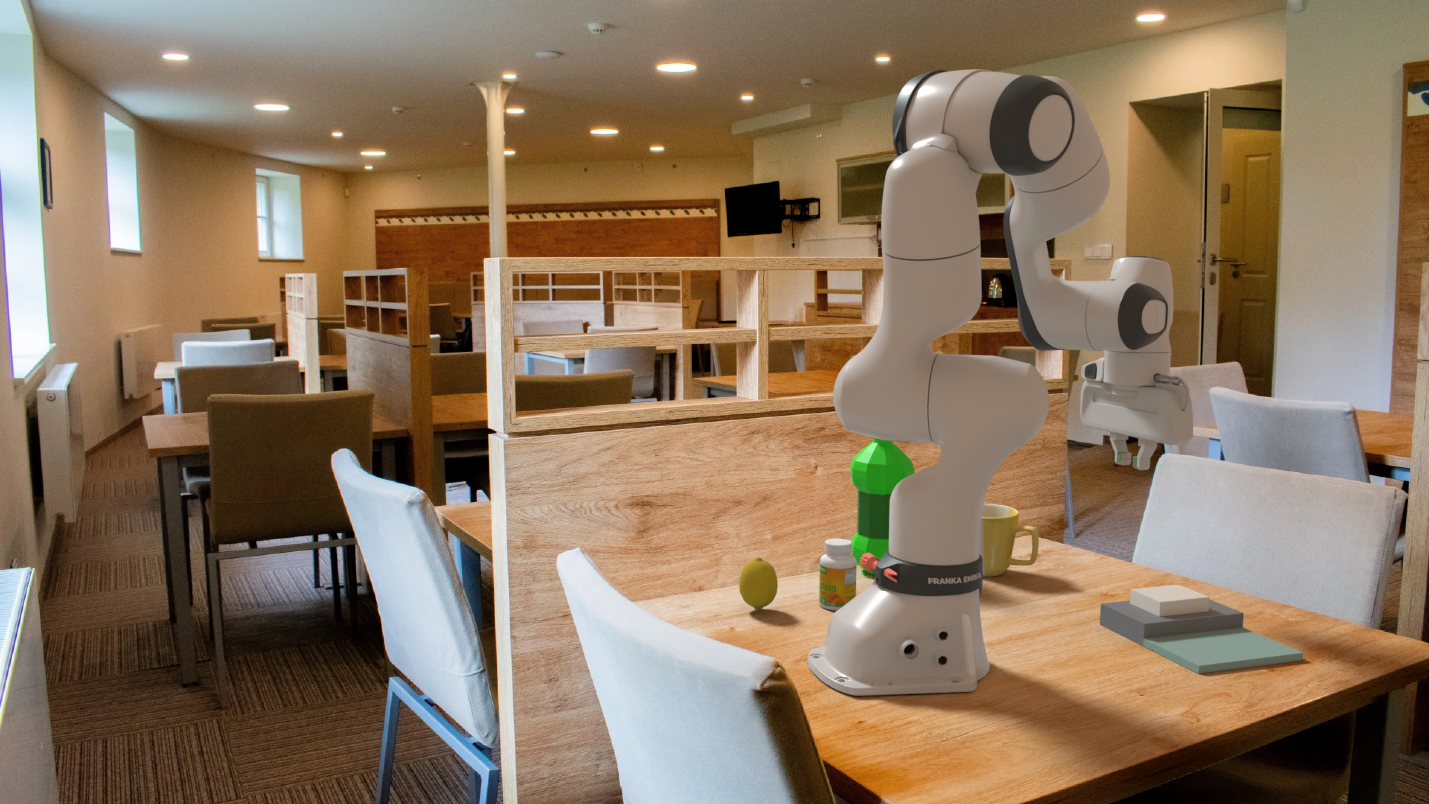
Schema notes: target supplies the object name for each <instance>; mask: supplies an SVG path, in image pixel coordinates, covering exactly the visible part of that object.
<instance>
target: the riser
mask: <svg viewBox="0 0 1429 804" xmlns="http://www.w3.org/2000/svg"><path fill="white" fill-rule="evenodd" d="M1099 610H1100V613H1099V625H1101V626H1102V627H1104V628H1107V629H1108V630H1111V631H1112V632H1114V633H1116V634H1118V635H1120V636H1122V637H1124V638H1125V639H1128V640H1130V641H1132V642H1134V641H1135V642H1134V643H1137V644H1138V645H1140V644H1141V645H1140V646H1142V647H1144V646H1143V640H1144V639H1146V638H1154V637H1163V636H1172V635H1181V634H1189V633H1198V632H1207V631H1215V630H1224V629H1233V628H1242V627H1243V628H1244V615H1245V612H1242V611H1239V610H1237V609H1235V608H1232V607H1230V606H1227V605H1224V604H1222V603H1219V602H1217V601H1215V600H1213V599H1211V598H1209V611H1206V612H1197V613H1188V614H1178V615H1169V616H1160V617H1159V616H1157V615H1155V614H1153V613H1150V612H1148V611H1146V610H1144V609H1142V608H1139V607H1137V606H1135V605H1133V604H1130V600H1123V601H1112V602H1104V603H1103V602H1102V603H1100V609H1099Z"/></svg>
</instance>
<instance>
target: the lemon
mask: <svg viewBox="0 0 1429 804" xmlns="http://www.w3.org/2000/svg"><path fill="white" fill-rule="evenodd" d="M738 584H739V585H738V586H739V593H740V595H741V597H742V600H743V601H744V603H746V604H747V605H748V606H750V607H752V608H753V609H754V610H755V611H757V612H760V611H762V610H763V608H765V607H767V606H770V605H771V603H772V602H773V601H774V600H775V598H776V596H777V593H778V577H777V573H776V570H775V568H774V566H773V565H772V564H771V563H770V562H768V561H767V560H764V559H763V558H762V557H760V556H758V557H755V559H752V560H750V561H749V562H747V563H746V564H745V565H744V566H743V568H742V571H741V573H740V577H739V583H738Z"/></svg>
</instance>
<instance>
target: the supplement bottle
mask: <svg viewBox="0 0 1429 804" xmlns="http://www.w3.org/2000/svg"><path fill="white" fill-rule="evenodd" d="M824 551H825V552H826V553H825V554H823V555H822V556H820V559H819V593H818V595H819V596H818V601H819V606H820V607H821V608H822V609H825V610H830V611H835V612H836V611H837V610H839V609H840V608H842V607H843V606H844V605H845V604H847V603H848V602H849V601H851V600H852V599H853V598H854V597H856V596H857V569H858V568H857V565H858V564H857V562H856V559H855V557H854V556H853V554H852V540H849V539H845V538H838V537H837V538H829V539H826V540H825V541H824Z"/></svg>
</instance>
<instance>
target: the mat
mask: <svg viewBox="0 0 1429 804" xmlns="http://www.w3.org/2000/svg"><path fill="white" fill-rule="evenodd" d="M1142 647H1144V648H1146V649H1149V650H1151V651H1152V650H1153V651H1152V652H1154V653H1156V654H1158V655H1160V656H1163V657H1164V658H1166V659H1168V660H1170V661H1172V662H1174V663H1177V664H1178V665H1180V666H1182V667H1184V668H1186V669H1188V670H1189V671H1193V672H1194V673H1195V674H1198V675H1200V674H1205V673H1213V672H1214V673H1215V672H1222V671H1229V670H1230V671H1231V670H1238V669H1245V668H1246V669H1247V668H1253V667H1260V666H1267V665H1268V666H1269V665H1278V664H1284V663H1292V662H1293V663H1294V662H1301V661H1303V660H1304V652H1302V651H1300V650H1298V649H1296V648H1293V647H1291V646H1288V645H1285V644H1284V643H1281V642H1278V641H1276V640H1274V639H1272V638H1269V637H1267V636H1264V635H1262V634H1260V633H1257V632H1255V631H1253V630H1250V629H1247V628H1245V627H1244V626H1243V627H1242V628H1233V629H1224V630H1215V631H1207V632H1198V633H1189V634H1181V635H1172V636H1163V637H1154V638H1146V639H1144V640H1143V646H1142Z"/></svg>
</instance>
